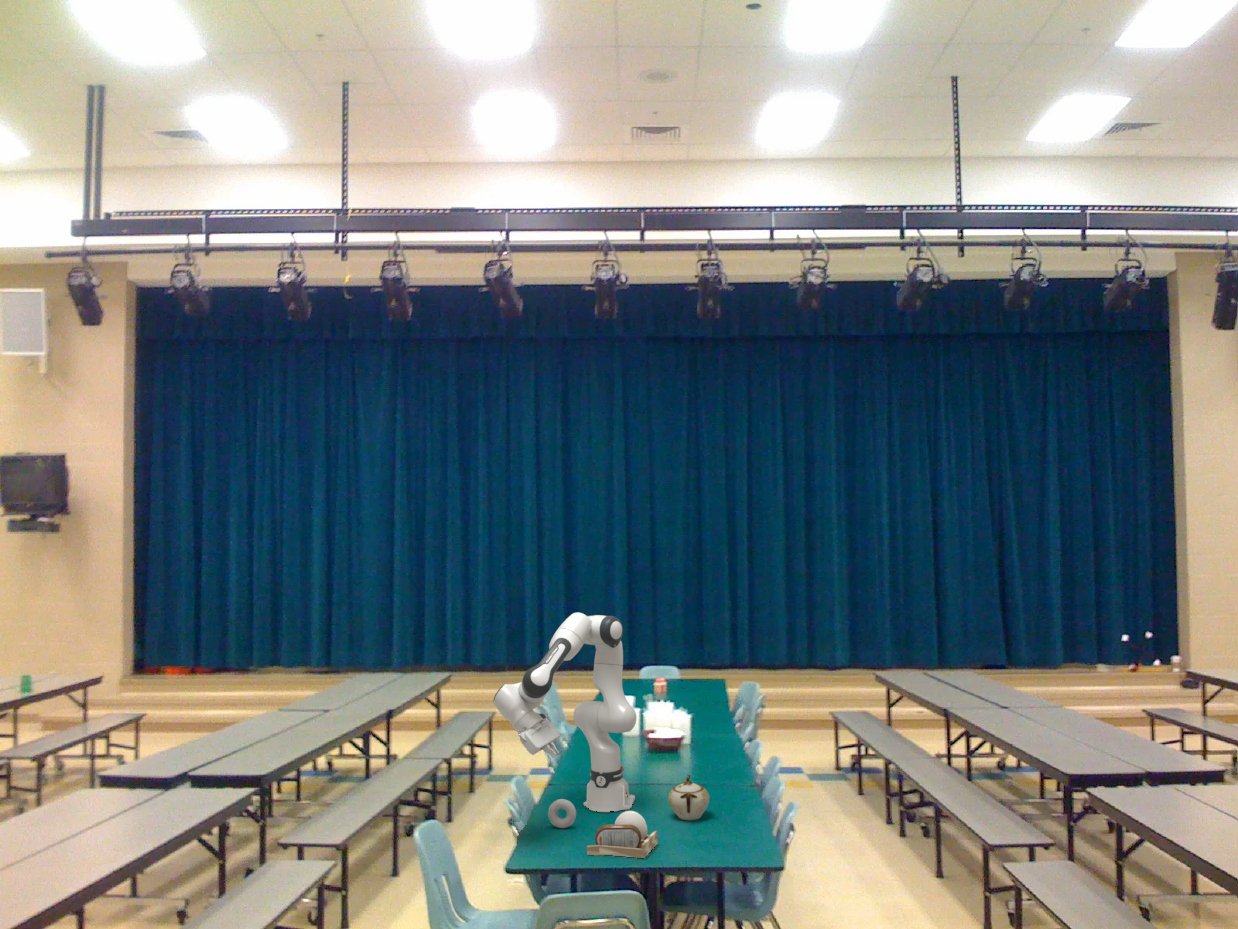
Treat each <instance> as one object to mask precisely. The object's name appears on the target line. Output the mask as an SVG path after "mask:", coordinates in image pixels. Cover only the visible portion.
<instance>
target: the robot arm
mask: <svg viewBox="0 0 1238 929" xmlns="http://www.w3.org/2000/svg"><path fill="white" fill-rule="evenodd" d="M623 633H624V627H623V624H622V622H621V619H619V618H618V617H616V616H613V615H600V614H598V615H597V614H594V615H586V614H584V613H582V612H573V613H572V614H570V615H569V616H568V617H567V618H566V619H565V620H564V621H563V622H562V623H561V624H560V626H559V627H558V628H557V629H556V631H555V633H554V634H553V636H552V637H551V639H550V642H549V645H548V648H549V649H548V650H547V652H546V653H545V655H544V656H543V658H541V660H540V662H539V663H537V664H536V665H533V666H532V667H530V668H529V669H527V670H526V671H525V673H524V674H523V677H522V681H520V682H518V683H510V684H509V683H505V684H503V685H501V686H500V688H499V689H498V690H497V691H496V693H495V695H494V698H493V705H494V707H495V708H496V710H498V712H499V713H500V714H501V715H502V717H503V718H504V719H506V720H507V721H508V722H509V723H510V724H511V726H512V728H513V729H514V730H515V732H517V733H518V737H519V741H520V743H521V744H522V746H523V747H524V748H525V749H526V751H527V752H528V753H529V754H530V755H532V756H534V755H536V754H537V753H539V752H541V751H542V750H543V752H544V753H546V754H548V755H549V756H550V757H551V758H556V757H558V756H559V754H560V751H559V750H558V749H557V747H556V745H555V742H557V740H559V738H560V737H561V735H560V732H559V730H558V729H557V727H556V726H555V725H554V724H553V723H552V722H551V721H550V720H549V719H548V716H547V714H545V713H542V712H536V711H534V709H536V708H538V707H539V706H540V705H541V704H542V703H543V701H544V699H545V698H546V696H547V695H548V692H549V691H550V689H551V687H552V685H553V680H554V679H553V678H554V675H555V673H556V671H557V670H558V669H559V667H560V666H561V664H562V663H563V662H565V661H566V662H567V661H571V660H572V659H573V658H574V657H575V656H576V655H577V654H578V653H579V651H580V650H581V649H582V647H583V646H584V645H590V646H595V656H594V661H593V663H594V664H593V676H592V684H593V686H594V688H595V689H596V690H598V691H599V692H600V693H601V695H602V698H603V701H600V700H598V701H597V700H586V701H580V702H578V703H577V705H576V706H575V708H574V710H573V714H572V715H573V720H574V724H575V726H577V728H579V729H580V731H582V733H583V735H584V736H585V738H586V741H587V743H588V745H589V746H588V747H589V751H590V764H591V765H590V766H591V767H590V771H589V776H590V778H589V779H590V780H589V782H588V783H587V785H586V801H584V802H582V803H583V804H582V805H584V806H583V807H585V806H586V807H585V808H587V809H588V808H589V809H588V810H589V811H593V812H596V811H597V813H611V812H610V811H614V812H618V811H622V810H623V811H624V810H625V811H627V810H631V809H632V806H633V805H634V802H635V800H636V796H635V795H634V794H630V787H629V786H630V785H629V783H628V782H627V781H626V780H625V779H624V774H623V772H624V770H625V768H624V767H625V766H623V765H621V748H620V746H619V744H618V743H616V741H614V740H613V739H612V738H611V737H610V734H609V733H613V734H614V733H615V734H621V733H622V734H623V733H630V732H631V731H632V730H633V729H634V728H635V726H636V723H637V712H636V711H635V709H634V707H633V706H632V705H631V704H630V703H629V701H628V700H627V697H626V695H625V693H624V689H623V669H624V649H623V642H622V638H623ZM632 804H633V805H632ZM630 808H631V809H630Z"/></svg>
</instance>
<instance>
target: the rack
mask: <svg viewBox="0 0 1238 929" xmlns="http://www.w3.org/2000/svg"><path fill="white" fill-rule="evenodd" d="M658 837H659V836H658V830H653V832H651V833H650V834H647V835H646V837H645V839H644V840H641V843H640V846H639V847H638V848H629V847H618V846H606V845H596V844H593V845H586V855H594V856H604V855H613V856H612V857H615V856H626V857H636V858H635V859H637V857H638V858H645V857H646V856H647V855H648V853H649V852H651V850H652V849H653V850H654V849H655V848H656V847H657V846H658V845H657V844H659V843H658V841H659V840H658ZM656 845H657V846H656ZM655 846H656V847H655ZM654 847H655V848H654ZM653 850H652V851H653ZM651 853H652V852H651ZM648 856H649V855H648ZM648 856H647V857H648ZM626 857H625V858H626ZM647 857H646V858H647ZM646 858H645V859H646Z"/></svg>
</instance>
